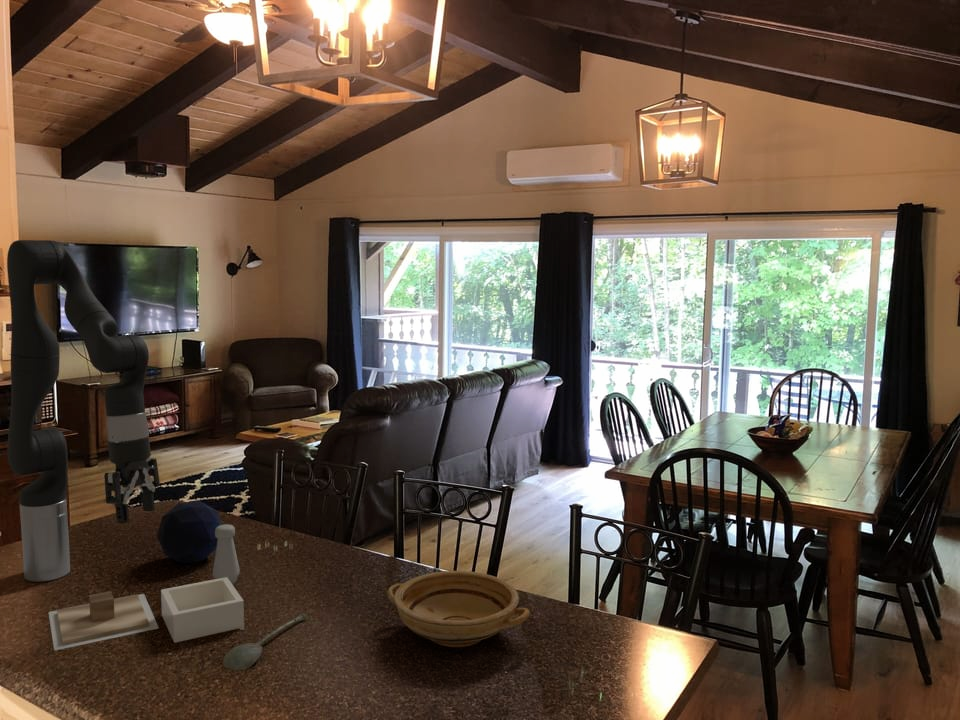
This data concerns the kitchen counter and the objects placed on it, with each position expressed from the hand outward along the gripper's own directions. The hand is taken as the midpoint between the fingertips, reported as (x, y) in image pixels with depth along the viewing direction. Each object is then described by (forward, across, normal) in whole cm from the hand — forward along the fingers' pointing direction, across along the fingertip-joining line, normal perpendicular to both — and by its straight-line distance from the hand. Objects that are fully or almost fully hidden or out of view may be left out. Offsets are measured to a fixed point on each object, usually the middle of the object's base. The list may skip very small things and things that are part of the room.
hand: (136, 516), depth 160 cm
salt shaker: (+21, -19, +7) cm, 29 cm away
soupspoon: (+24, +5, +28) cm, 37 cm away
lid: (+20, +4, -7) cm, 21 cm away
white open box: (+22, 0, +12) cm, 25 cm away
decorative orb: (+19, -29, -7) cm, 36 cm away
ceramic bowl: (+26, -6, +62) cm, 68 cm away
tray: (+20, +4, -7) cm, 22 cm away
